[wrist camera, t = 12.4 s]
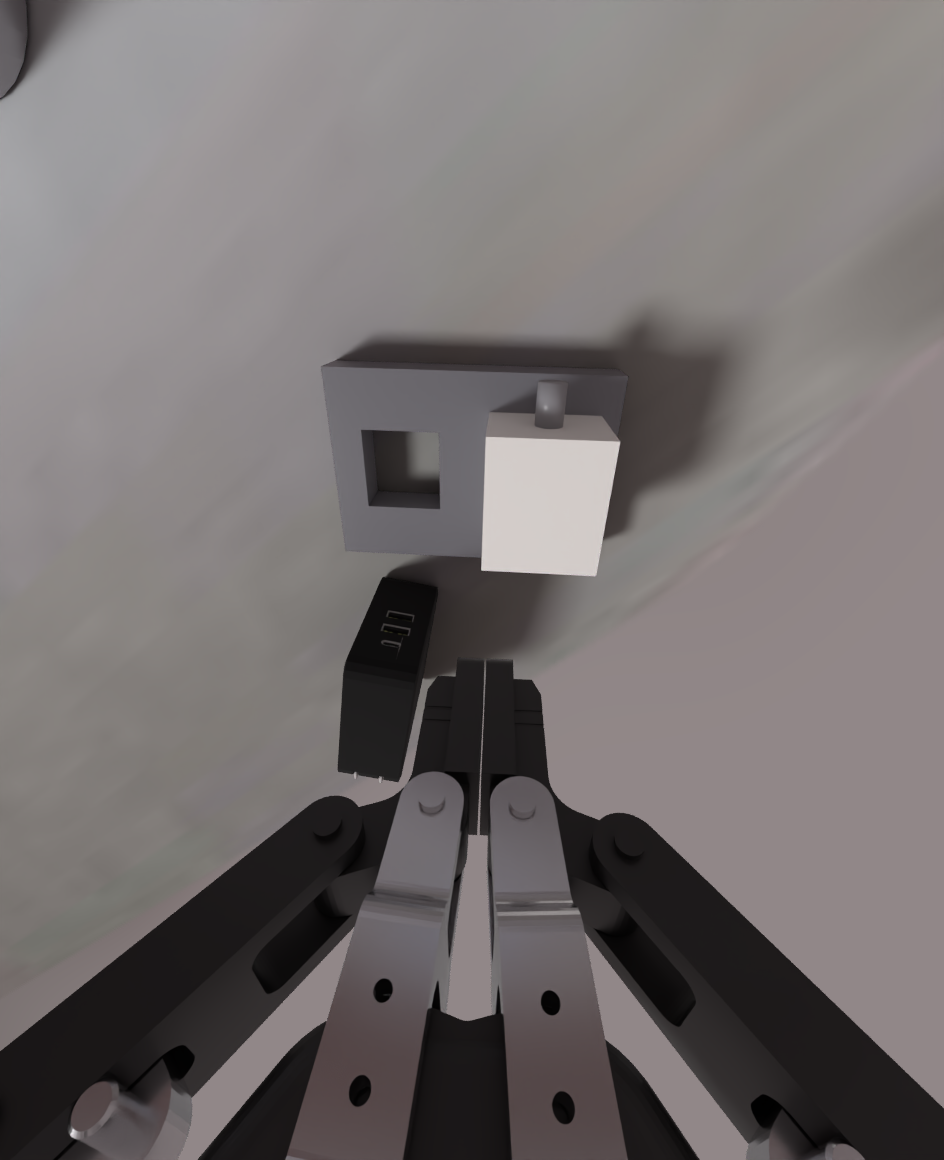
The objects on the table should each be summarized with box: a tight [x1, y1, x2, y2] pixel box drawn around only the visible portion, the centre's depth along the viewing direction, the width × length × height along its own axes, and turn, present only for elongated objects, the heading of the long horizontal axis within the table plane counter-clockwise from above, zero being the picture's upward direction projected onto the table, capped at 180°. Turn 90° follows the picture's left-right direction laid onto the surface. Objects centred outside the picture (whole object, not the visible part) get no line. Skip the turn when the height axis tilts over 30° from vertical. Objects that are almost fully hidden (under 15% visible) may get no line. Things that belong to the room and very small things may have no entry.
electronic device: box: [338, 577, 438, 783], centre depth 33 cm, size 4×10×10 cm, turn 169°
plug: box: [481, 380, 620, 576], centre depth 26 cm, size 9×6×7 cm, turn 179°
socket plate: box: [321, 360, 629, 558], centre depth 29 cm, size 11×16×2 cm
